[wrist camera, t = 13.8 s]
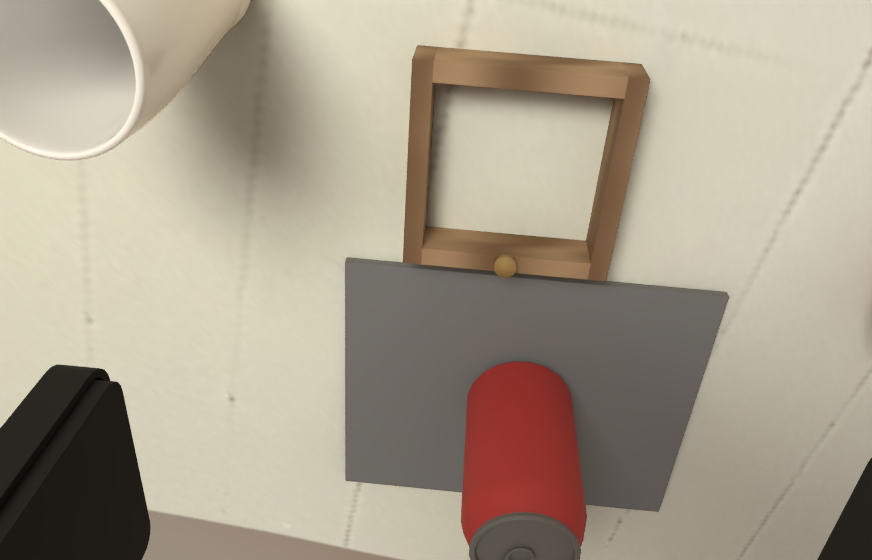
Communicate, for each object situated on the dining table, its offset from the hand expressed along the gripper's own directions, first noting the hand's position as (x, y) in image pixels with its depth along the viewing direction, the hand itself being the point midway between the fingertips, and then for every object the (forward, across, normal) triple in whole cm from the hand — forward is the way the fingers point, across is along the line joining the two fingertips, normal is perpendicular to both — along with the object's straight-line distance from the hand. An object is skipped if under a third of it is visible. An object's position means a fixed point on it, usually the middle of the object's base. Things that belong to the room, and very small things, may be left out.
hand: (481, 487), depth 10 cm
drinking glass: (+31, +14, 0) cm, 34 cm away
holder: (+30, -2, +8) cm, 31 cm away
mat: (+30, -4, +24) cm, 39 cm away
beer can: (+30, -4, +24) cm, 39 cm away
